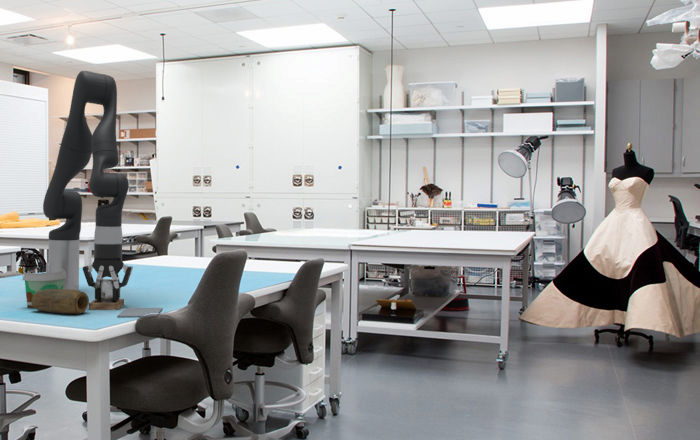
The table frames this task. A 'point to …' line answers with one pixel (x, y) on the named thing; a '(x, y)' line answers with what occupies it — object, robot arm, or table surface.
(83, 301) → the brown wooden cylinder
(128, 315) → the mat
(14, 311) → the table surface
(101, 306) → the socket
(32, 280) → the food container
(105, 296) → the steel pin
